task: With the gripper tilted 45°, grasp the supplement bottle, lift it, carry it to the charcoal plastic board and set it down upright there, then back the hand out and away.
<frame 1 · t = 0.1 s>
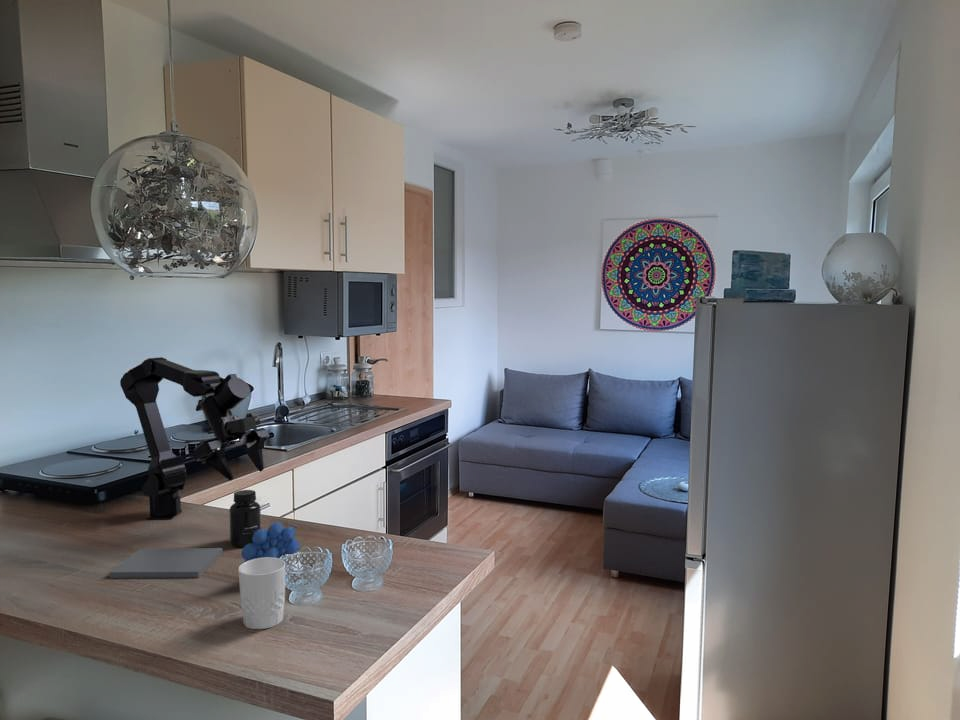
hand: (247, 475, 158), 15 cm above the table, tool tilted 35°, fingers open, 9 cm apart
white cup: (263, 621, 117), on the table
board: (168, 565, 141), on the table
supplement bottle: (245, 543, 154), on the table
grapes: (270, 581, 134), on the table
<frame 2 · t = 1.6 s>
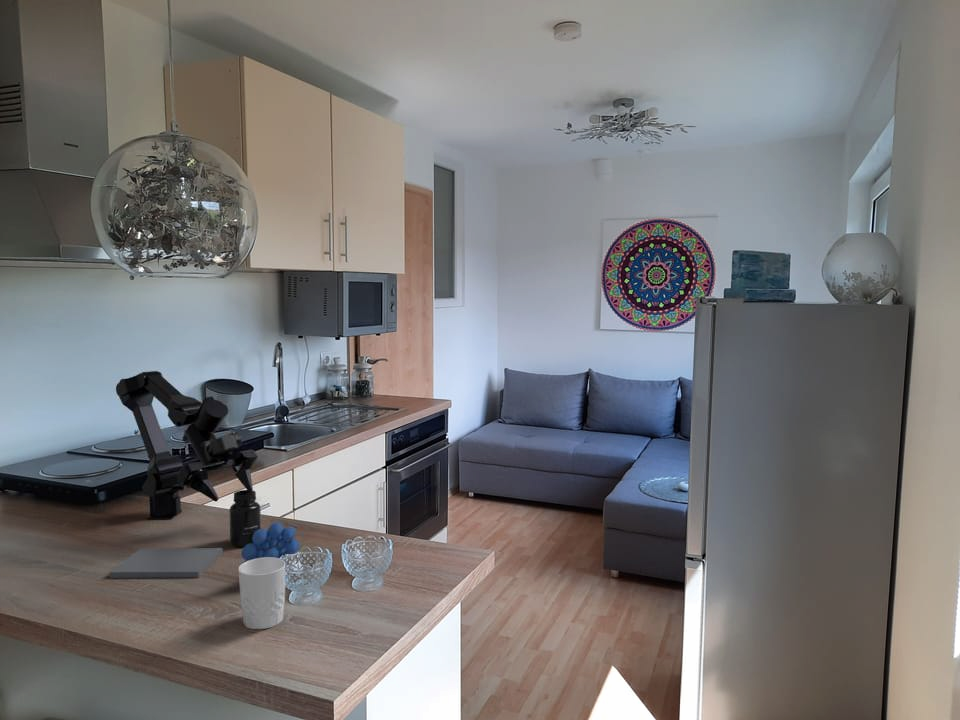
hand: (234, 495, 156), 11 cm above the table, tool tilted 45°, fingers open, 9 cm apart
nothing on the table moved.
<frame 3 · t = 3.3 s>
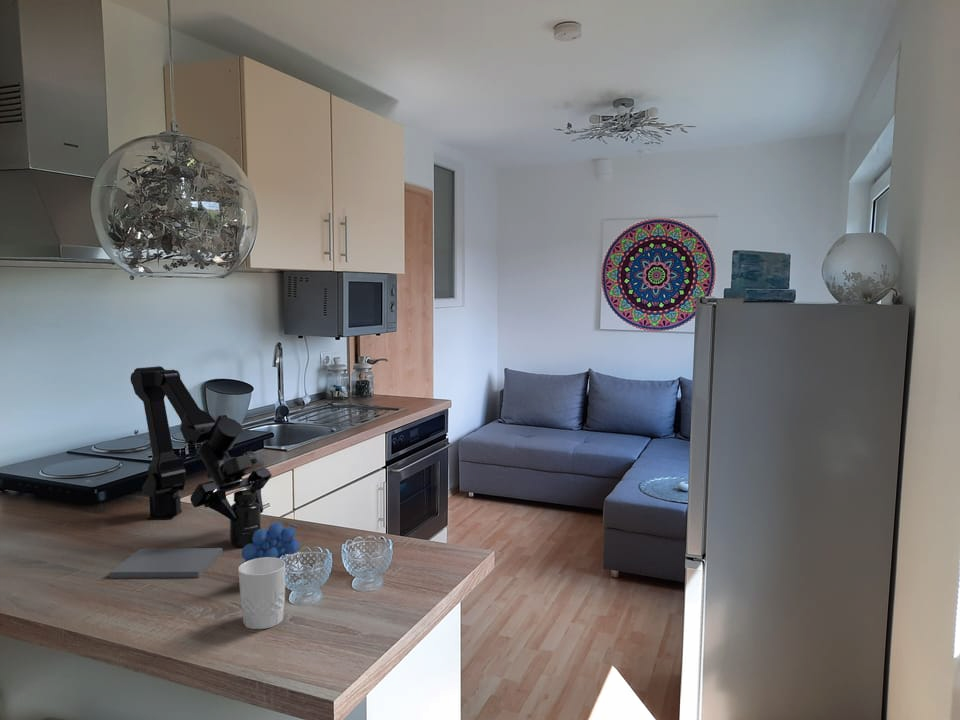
hand: (248, 516, 153), 7 cm above the table, tool tilted 45°, fingers closed on supplement bottle, 7 cm apart
supplement bottle: (245, 543, 154), on the table, touching gripper
everything else where it was.
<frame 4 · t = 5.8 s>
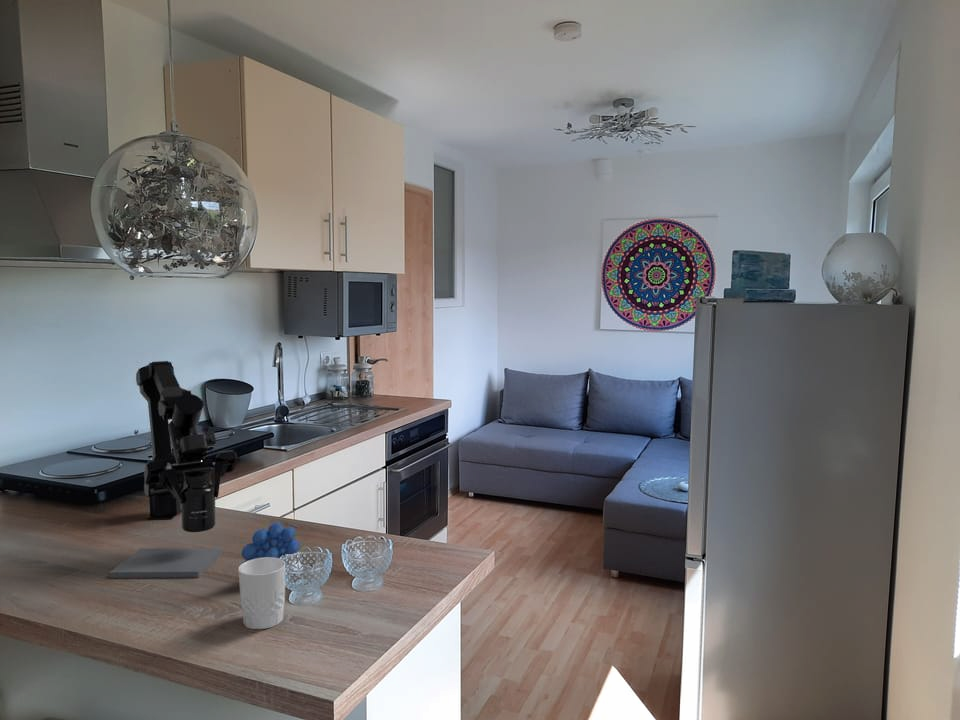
hand: (200, 499, 143), 13 cm above the table, tool tilted 45°, fingers closed on supplement bottle, 7 cm apart
supplement bottle: (199, 528, 145), point 7 cm above the table, touching gripper
everything else where it was.
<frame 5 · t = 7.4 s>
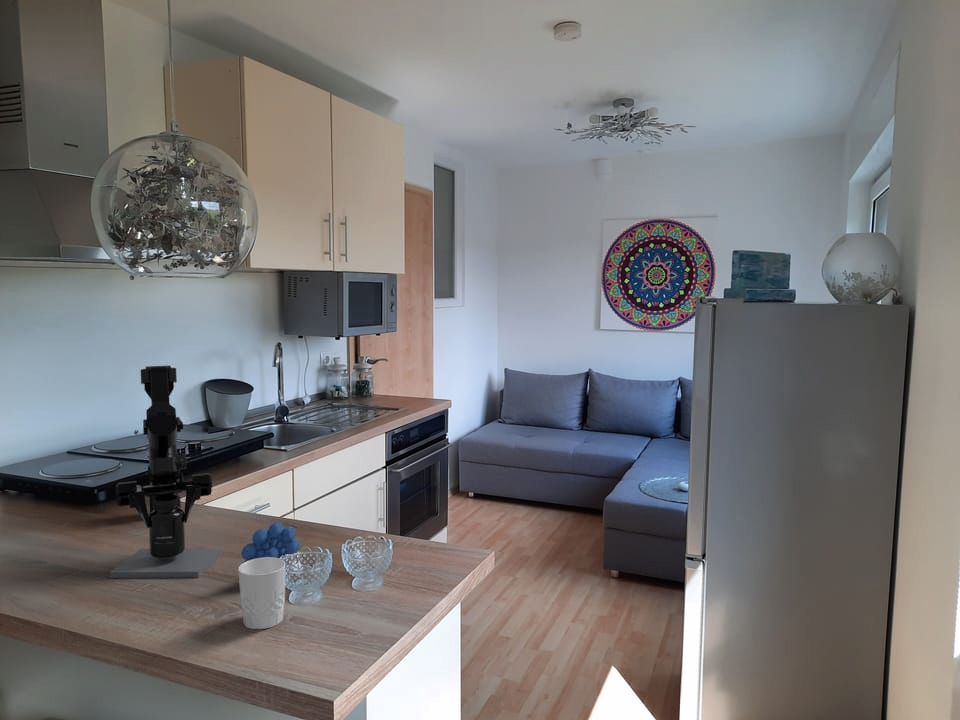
hand: (167, 524, 139), 9 cm above the table, tool tilted 45°, fingers closed on supplement bottle, 7 cm apart
supplement bottle: (168, 553, 141), point 2 cm above the table, touching gripper
everything else where it was.
when the fingers open (9 cm above the table, at t = 8.4 s): supplement bottle drops 1 cm, resting on board.
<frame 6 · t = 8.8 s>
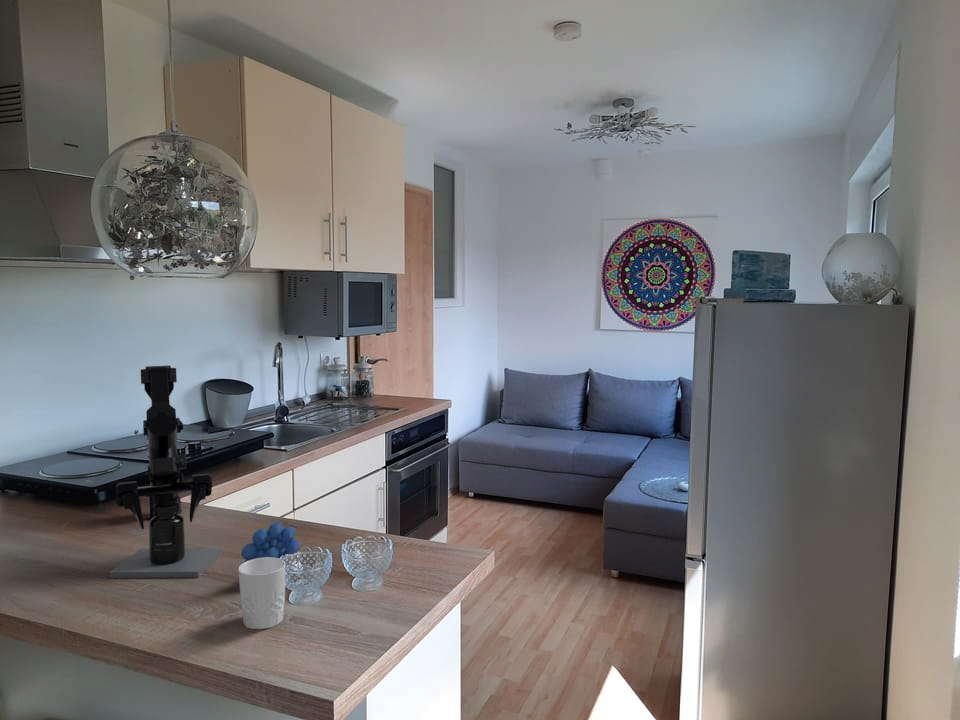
hand: (167, 524, 139), 9 cm above the table, tool tilted 45°, fingers open, 9 cm apart
supplement bottle: (168, 560, 141), point 1 cm above the table, touching board
everything else where it was.
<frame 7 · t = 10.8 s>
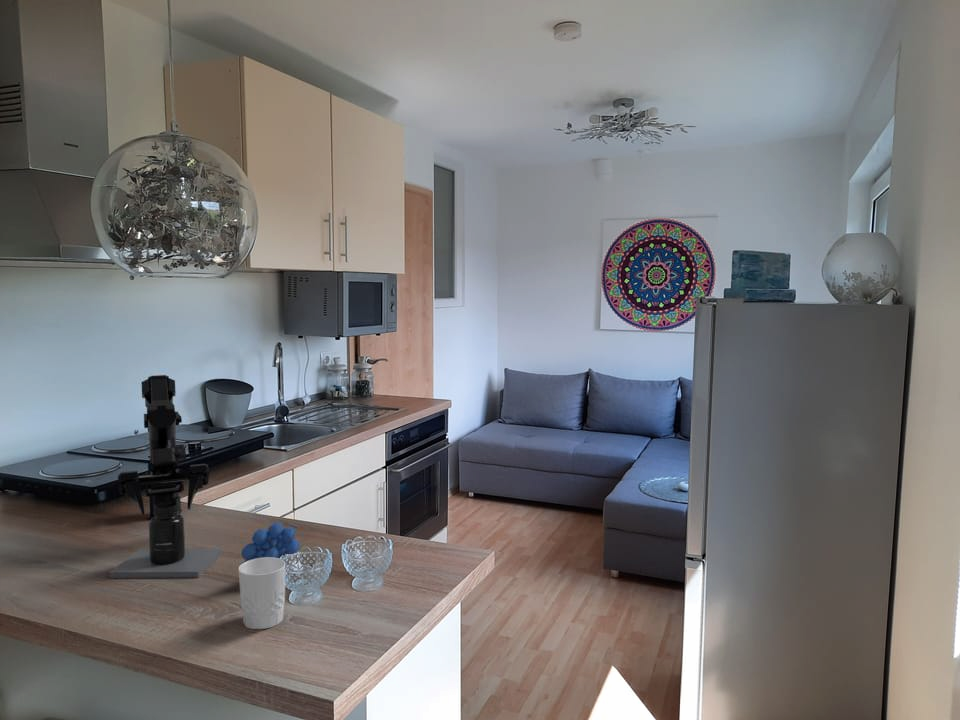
hand: (166, 511, 148), 9 cm above the table, tool tilted 45°, fingers open, 9 cm apart
nothing on the table moved.
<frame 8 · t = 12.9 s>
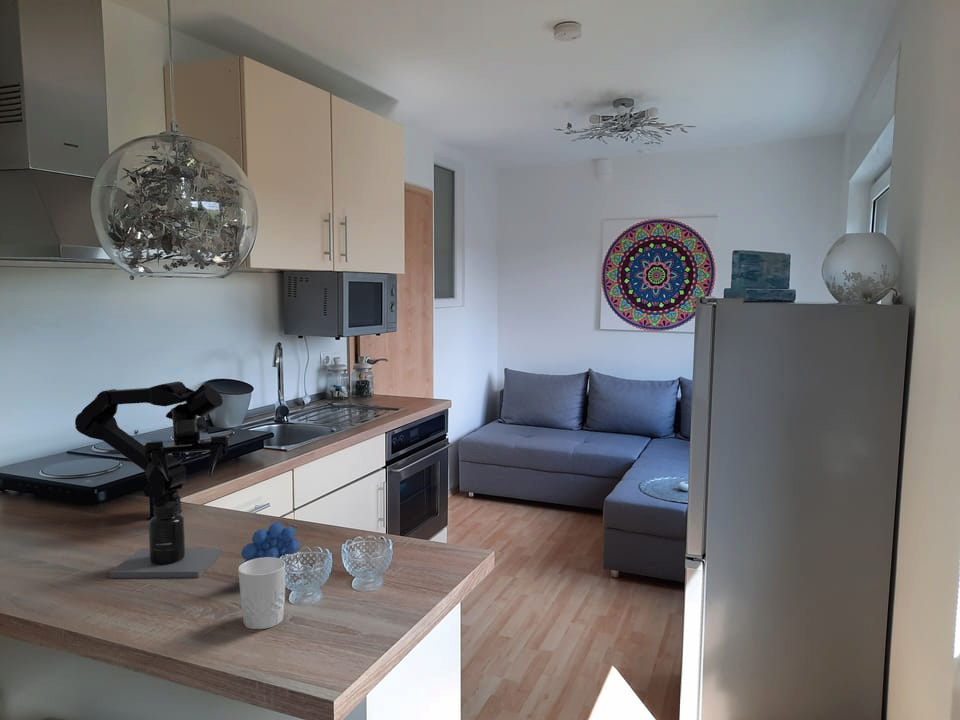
hand: (189, 478, 160), 14 cm above the table, tool tilted 45°, fingers open, 9 cm apart
nothing on the table moved.
at the end: supplement bottle 0.2 cm from the board (horizontally); supplement bottle tilted 0°; supplement bottle touching board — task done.
